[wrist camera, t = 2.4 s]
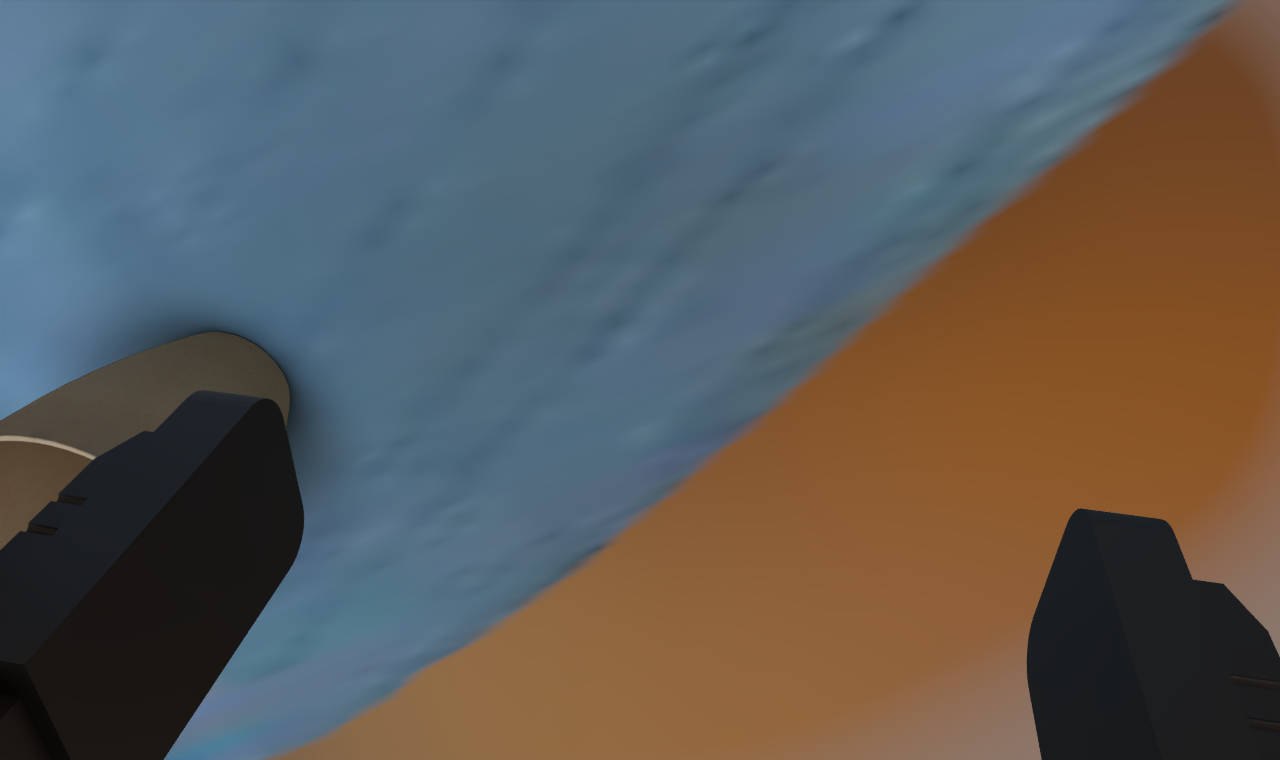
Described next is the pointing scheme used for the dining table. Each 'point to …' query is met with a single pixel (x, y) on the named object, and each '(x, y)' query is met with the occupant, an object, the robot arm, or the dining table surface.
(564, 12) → the dining table surface
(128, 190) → the dining table surface
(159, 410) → the plant pot
